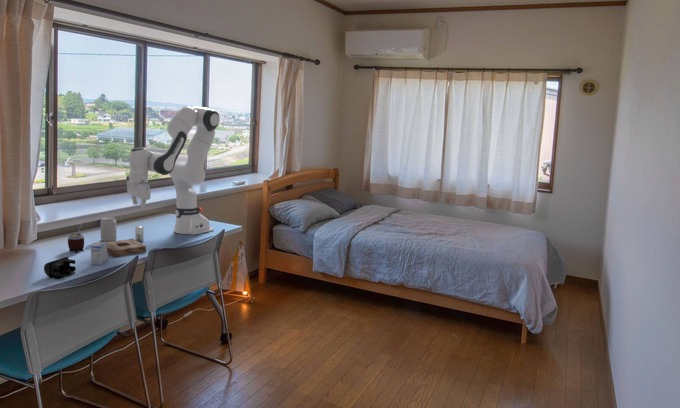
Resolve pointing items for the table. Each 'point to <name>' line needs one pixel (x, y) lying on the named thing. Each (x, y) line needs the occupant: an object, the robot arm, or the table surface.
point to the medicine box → (98, 253)
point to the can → (108, 229)
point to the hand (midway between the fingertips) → (138, 205)
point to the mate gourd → (76, 241)
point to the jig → (125, 247)
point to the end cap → (60, 268)
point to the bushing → (139, 234)
